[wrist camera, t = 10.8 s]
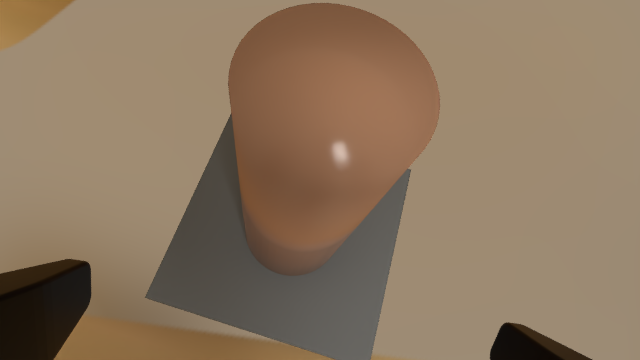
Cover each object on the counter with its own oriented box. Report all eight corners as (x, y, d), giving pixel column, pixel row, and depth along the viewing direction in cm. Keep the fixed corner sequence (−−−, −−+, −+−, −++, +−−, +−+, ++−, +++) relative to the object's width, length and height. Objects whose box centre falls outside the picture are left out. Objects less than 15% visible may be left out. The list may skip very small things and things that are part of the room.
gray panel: (364, 368, 19) (368, 369, 18) (149, 299, 19) (144, 297, 18) (406, 175, 24) (411, 169, 23) (233, 117, 24) (232, 110, 23)
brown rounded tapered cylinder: (289, 297, 19) (337, 231, 8) (224, 223, 20) (181, 67, 9) (358, 231, 21) (479, 99, 10) (296, 166, 22) (338, -25, 10)
